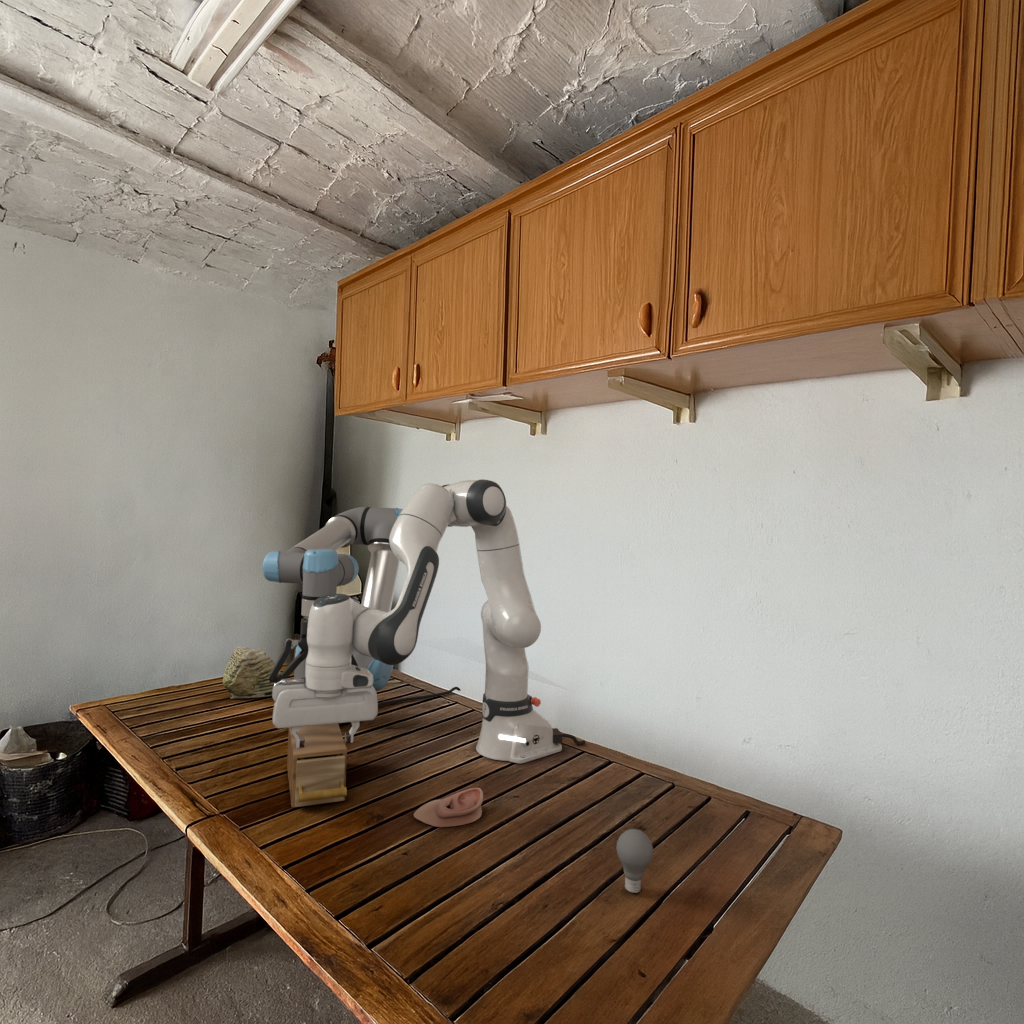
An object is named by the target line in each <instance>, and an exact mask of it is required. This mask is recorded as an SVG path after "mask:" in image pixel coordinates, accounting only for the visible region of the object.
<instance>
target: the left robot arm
mask: <svg viewBox="0 0 1024 1024" xmlns="http://www.w3.org/2000/svg"><path fill="white" fill-rule="evenodd" d="M402 510H403V508H399V507H372V506H371V507H370V506H359V507H358V506H357V507H354V508H351V509H348V510H345V511H343V512H340V513H338V514H336V515H335V516H332V517H331V518H330V519H328V521H327V522H326V523H325V525H324V526H323V527H322V528H320V529H319V530H317V531H315V532H314V533H312V534H311V535H309V536H307V538H305V539H303V540H301V541H300V542H299V543H296V544H295V545H294V546H292V547H290V548H289V549H288V550H286V551H281V550H278V551H269V552H268V553H267V554H266V555H265V557H264V559H263V561H262V575H263V577H264V578H265V580H266V581H268V582H273V583H274V582H275V583H279V584H281V583H284V584H300V585H301V584H302V595H301V613H300V615H301V616H302V618H301V619H300V620H301V621H300V636H299V638H298V639H292V638H291V637H287V638H286V639H285V642H284V648H283V650H282V652H281V654H280V655H279V657H278V658H277V660H276V662H275V666H274V667H273V669H272V671H271V673H270V675H269V681H270V682H275V683H277V682H279V681H281V680H282V679H289V677H290V676H291V674H292V673H293V679H294V678H305V667H306V658H307V655H308V644H307V627H308V619H309V613H310V609H311V606H312V604H313V602H314V601H315V600H316V599H318V598H319V597H322V596H325V595H329V594H337V593H338V591H337V590H338V587H341V586H346V585H348V584H350V583H352V582H353V581H354V580H355V579H356V578H357V577H358V575H359V571H360V567H359V563H358V561H357V560H356V558H354V557H353V556H352V555H350V554H347V553H338V552H337V551H338V550H340V549H343V548H348V547H350V546H352V545H361V546H367V550H368V551H369V553H370V558H369V562H368V563H369V564H368V569H367V573H366V578H365V584H364V587H363V593H362V598H361V603H360V604H361V605H363V606H366V607H369V608H373V609H377V610H380V611H384V612H390V611H392V606H393V601H394V596H395V595H394V594H395V590H396V584H397V580H398V579H397V578H398V574H399V573H398V572H399V568H400V562H401V561H400V560H399V559H398V558H397V557H396V556H395V555H394V553H393V552H392V550H391V547H390V543H389V536H390V533H391V530H392V527H393V525H394V523H395V522H396V520H397V518H398V516H399V515H400V513H401V511H402ZM294 649H295V652H294V653H295V654H294V659H292V660H291V662H290V663H289V664H288V665H287V667H286V668H284V670H283V671H282V672H281V669H282V667H283V666H284V664H285V663H286V660H287V659H288V657H289V655H290V653H291V650H294ZM351 665H354V666H358V667H362V668H366V669H367V670H369V671H370V672H371V674H372V675H373V678H374V682H373V685H372V686H373V687H374V689H375V690H376V692H377V691H381V690H382V689H384V688H385V686H386V685H387V684H388V683H389V681H390V678H391V677H392V676H391V675H392V673H393V671H394V666H395V665H387V664H385V663H383V662H380V661H378V660H376V659H374V658H372V657H369V656H365V655H362V654H360V653H354V654H352V656H351ZM279 671H280V672H281V674H280V675H279V676H277V675H278V673H279ZM278 685H281V683H280V684H278ZM304 685H305V683H304ZM455 690H457V692H461V691H462V690H461V688H460V687H458V686H453V687H452V688H450V689H449V690H447V691H443V692H438V693H431V694H426V695H419V696H418V695H417V696H410V697H403V698H398V699H391V700H387V701H382V702H378V707H381V706H385V705H390V704H396V703H402V702H408V701H409V702H410V701H415V700H423V699H429V698H436V697H440V696H445V695H449V694H451V693H453V692H454V691H455ZM338 725H339V726H340V725H342V723H338Z"/></svg>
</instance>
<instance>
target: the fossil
mask: <svg viewBox="0 0 1024 1024" xmlns="http://www.w3.org/2000/svg"><path fill="white" fill-rule="evenodd" d="M275 664H276V662H274V660H273V659H272V658H271V657H270V656H269V655H268V654H267V653H266V652H265V650H264V649H263V648H260V647H258V648H251V647H247V646H246V647H245V646H238V647H237V648H236V649H235V650H233V651H232V653H231V656H230V657H229V659H228V660H227V663H226V666H225V668H224V671H223V675H222V676H223V677H222V685H223V687H224V688H225V690H226V691H228V693H229V698H230V699H250V698H264V697H272V688H273V686H274V685H275V684H276V683H275V682H270V681H269V675H270V673H271V671H272V669H273V667H274V666H275ZM281 673H282V672H281V670H280V671H279V673H278V675H277V676H279V675H280V674H281Z"/></svg>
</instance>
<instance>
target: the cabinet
mask: <svg viewBox="0 0 1024 1024" xmlns="http://www.w3.org/2000/svg"><path fill="white" fill-rule="evenodd" d="M297 733H298V735H299V736H300V737H304V739H305V743H304V745H305V746H304V748H299V749H297V748H296V739H295V737H294V735H293V734H292V732H291V727H290V728H288V737H287V739H288V740H287V762H286V764H287V765H286V768H287V769H286V770H287V778H288V779H287V780H288V787H289V796H290V805H291V808H296V807H295V793H296V767H297V760H298V758H305V757H315V756H324V755H333V754H340V756H343V755H344V756H345V775H344V787H346V788H347V786H346V785H347V764H348V763H347V762H348V761H347V760H348V748H347V745H346V743H345V738H344V736H343V734H342V731H341V728H340V725H338V723H334V724H323V725H312V726H301V727H299V732H297ZM343 801H346V796H344V800H343ZM343 801H342V802H343Z"/></svg>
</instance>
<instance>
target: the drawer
mask: <svg viewBox="0 0 1024 1024" xmlns="http://www.w3.org/2000/svg"><path fill="white" fill-rule="evenodd" d="M344 775H345V756H344V755H343V756H340V754H333V755H324V756H315V757H305V758H298V760H297V767H296V793H295V807H294V808H299V807H300V808H301V807H306V806H307V807H308V806H316V805H322V804H323V805H324V804H329V803H336V802H337V803H338V802H343V800H344V796H345V797H347V795H348V789H347V786H346V787H344ZM344 801H345V800H344Z"/></svg>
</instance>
